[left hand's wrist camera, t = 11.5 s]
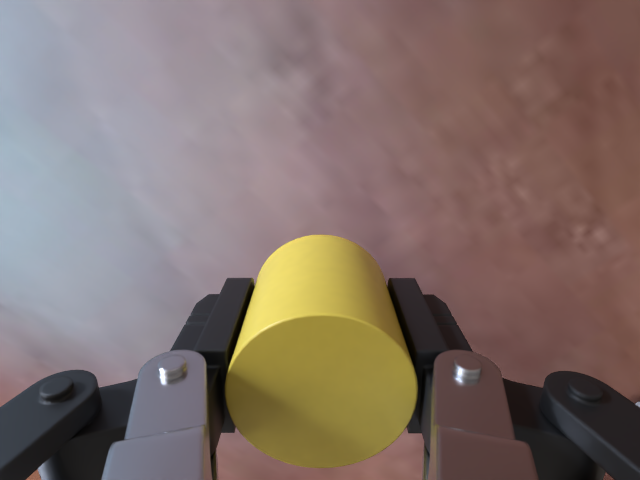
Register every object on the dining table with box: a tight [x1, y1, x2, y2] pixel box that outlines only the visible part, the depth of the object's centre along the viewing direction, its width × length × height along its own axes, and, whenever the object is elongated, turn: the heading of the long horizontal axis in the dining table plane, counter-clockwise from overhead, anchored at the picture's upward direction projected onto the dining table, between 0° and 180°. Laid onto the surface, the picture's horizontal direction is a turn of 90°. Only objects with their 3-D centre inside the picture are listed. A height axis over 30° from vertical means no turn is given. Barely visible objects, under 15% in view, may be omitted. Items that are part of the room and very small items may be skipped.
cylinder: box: [225, 235, 418, 468], centre depth 10 cm, size 4×4×4 cm
